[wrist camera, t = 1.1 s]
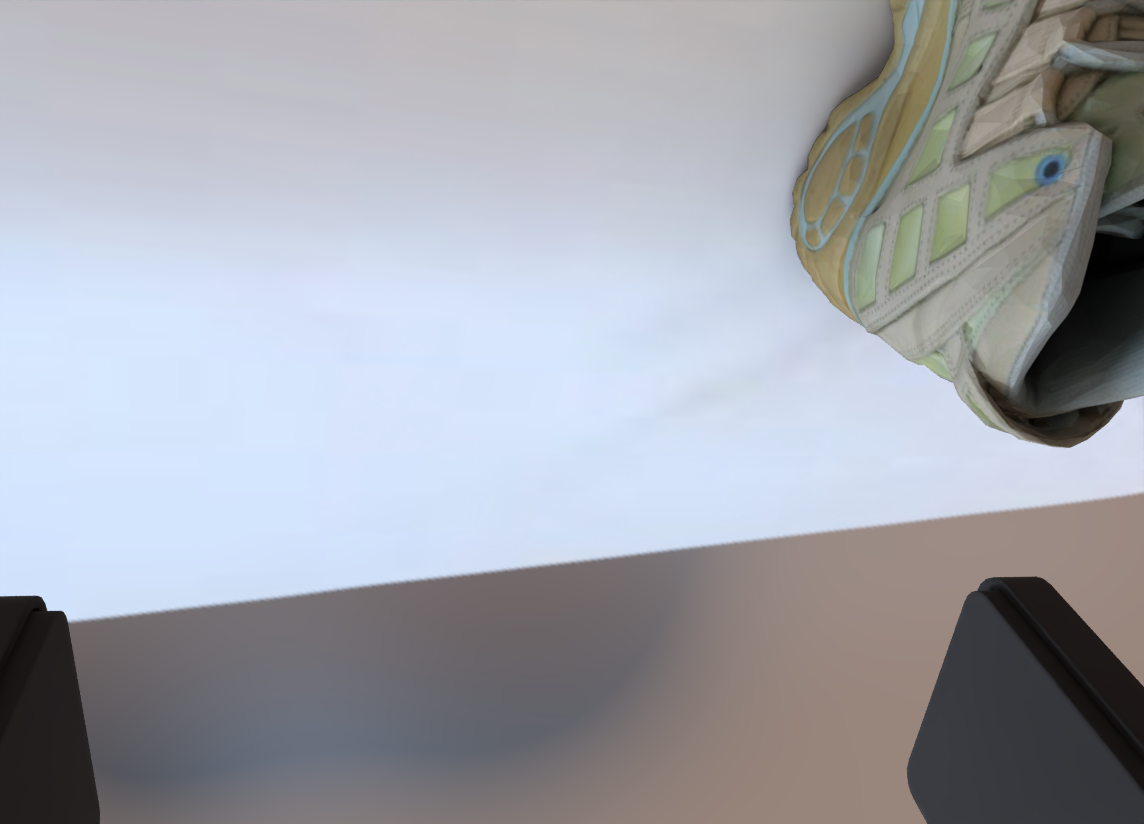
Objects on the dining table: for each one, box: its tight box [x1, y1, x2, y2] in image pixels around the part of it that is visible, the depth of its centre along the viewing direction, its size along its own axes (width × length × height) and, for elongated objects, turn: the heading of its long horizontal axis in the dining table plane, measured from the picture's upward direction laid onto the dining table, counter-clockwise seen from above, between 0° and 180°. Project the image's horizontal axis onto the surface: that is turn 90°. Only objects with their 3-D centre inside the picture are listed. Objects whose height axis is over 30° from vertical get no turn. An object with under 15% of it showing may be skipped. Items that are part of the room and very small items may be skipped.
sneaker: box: [790, 0, 1144, 448], centre depth 27 cm, size 11×19×15 cm, turn 149°
